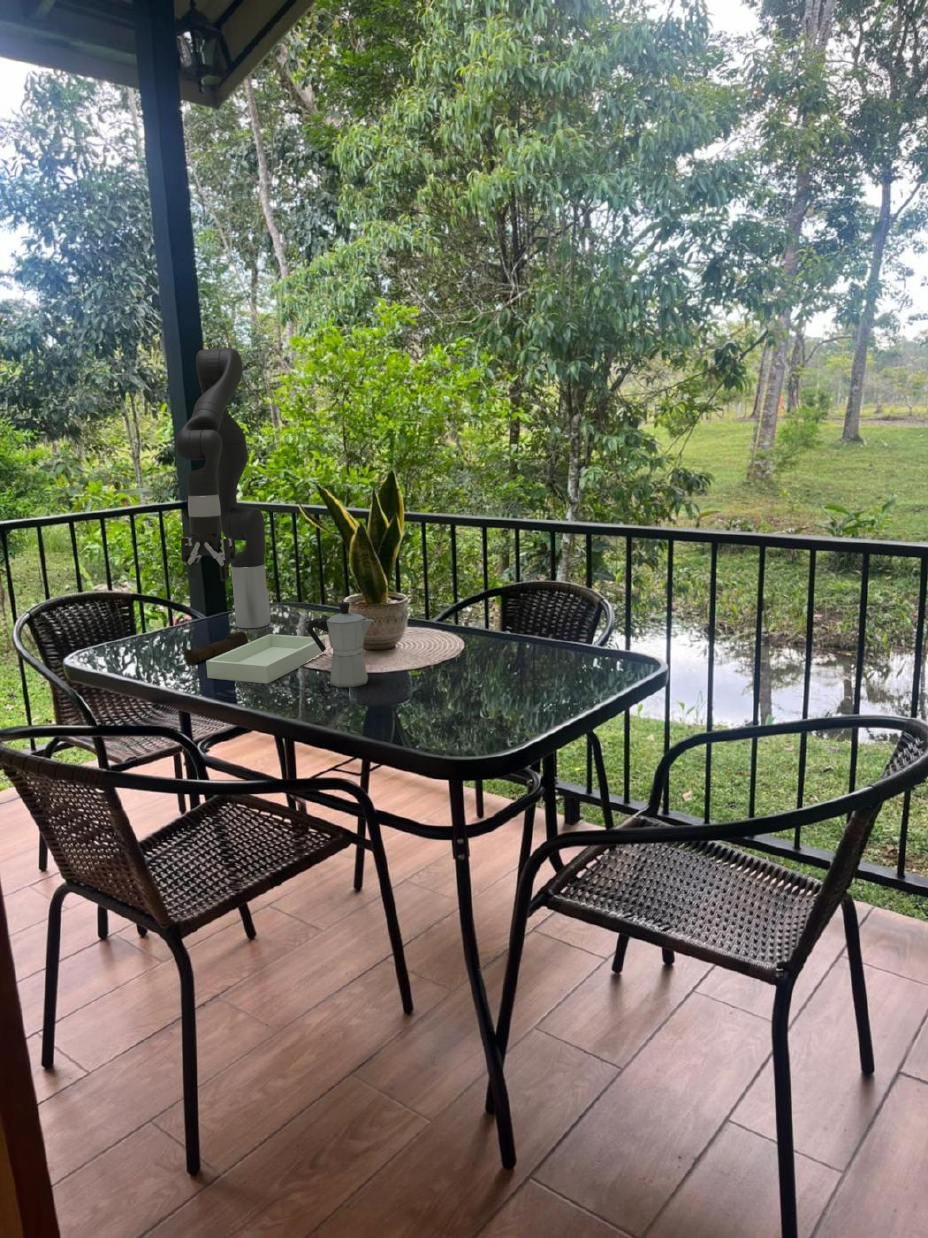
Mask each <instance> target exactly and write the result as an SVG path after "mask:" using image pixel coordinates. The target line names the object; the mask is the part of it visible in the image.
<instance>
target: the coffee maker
mask: <svg viewBox="0 0 928 1238" xmlns="http://www.w3.org/2000/svg"><path fill="white" fill-rule="evenodd" d="M338 605H339V606H338V607H339V609H340V613H338V614H335V615H332V616H330V615H322V616H321V617H320V618H313V619H310V621H309V623H308V625H307V628H306V631H307V632H308V634H309V635H310V637H312V638H313V640H314V641H315V642H316V644H317V645H318V647H319V648H320V650H321V651H322V652H323V651H324V650H325V649H327V647H326V645H325V646H324V644H323V643H322V642H321V640H320V639H319V638H320V637H319V636H318V634H317V633H316V631H315V630H314V629H315V628H316V629H318V630H321V631H324V632H327V635H328V640H329V646H330V648H331V649H333V650H332V656H331V669H330V677H329V678H330V679H329V685H330V686H334V687H337V688H355V687H359V686H363V685H366V684H367V683H368V682H369V681H368V680H369V676H368V672H367V667H366V664H365V658H364V653H363V651H362V648H363V647H364V641H365V637H366V634H367V633H368V630H369V628H370V626H371V624H372V623H373V622H375V620H374V619H370V618H367V617H365V616H364V615H362V614H358V613H352V612H349V610H350V602H349V601H342V602H339V603H338Z"/></svg>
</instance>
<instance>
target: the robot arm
mask: <svg viewBox="0 0 928 1238" xmlns="http://www.w3.org/2000/svg"><path fill="white" fill-rule="evenodd" d="M195 364H196V373H197V378H198V383H199V386H200V389H201V390H200V392H201V394H202V395H200V397H198V399H197V401H196V403H195V405H194V407H193V411H192V415H191V417H190V419H189V420H188V421H187V422H186V423H185V425H183V427H182V428H181V429H180V431H179V432H178V434H177V436H176V440H175V450H176V452H177V455H178V456H179V457H180V458H181V459H183V460H186V461H201V460H202V461H205V463H204V466H203V467H202V468H198V469H195V470H191V471H189V472H188V473H187V475H186V484H187V494H188V495H187V496H188V498H187V499H188V500H187V510H188V519H189V520H188V521H189V532H190V534H191V537H190V536H185V537H181V538H180V546H181V547H180V550H181V553H180V554H181V562H183V563H187V564H188V565H189V573H190V575H189V576H190V578H191V579H192V581H193V580H194V581H196V580H200V578H201V577H200V566H199V565H200V563H199V561H200V559H201V558H202V557H203V556H208V557H212V558H213V559H215V560H216V561H217V563H218V564H219V566H218V567H219V577H220V581H221V582H225V581H228V580H229V578H230V569H231V579H232V580H231V581H232V591H233V592H232V593H233V601H234V602H233V604H234V615H235V624H236V625H235V626H236V628H240V629H256V628H262V627H266V626H268V625H270V622H272V618H271V607H270V595H269V594H270V593H269V589H268V588H267V587H268V585H267V578H266V576H267V575H266V563H265V556H266V531H265V530H266V529H265V528H266V527H265V525H266V524H265V518H264V514H263V512H262V511H261V510H260V508H258V507H253V506H252V507H249V506H248V507H247V506H241V507H240V506H238V500H237V490H238V485H239V482H240V480H241V478H242V476H243V473H244V472H245V469H246V467H247V463H248V457H249V456H248V455H249V454H248V448H247V440H246V435H245V433H244V431H243V429H242V427H241V426H240V424H239V423H238V422H237V421H236V420H235V418H234V417H233V416H232V415H231V414H230V413H229V411H228V409H226V408H227V405H228V404H229V402H230V400H231V399H232V397H233V396H234V393H235V391H236V390H237V388H238V386H239V384H240V383H241V379H242V377H243V362H242V357H241V355H240V353H239V352H238V351H237V350H236V349H235V348H230V347H224V348H222V347H221V348H210V349H200V350H199V351H197V353H196V356H195ZM222 534H223V536H224V538H223V537H222ZM234 541H237V542H238V541H240V542H241V541H242V542H245V547H244V549H243V550H242V551H239V552H237V553H236V552H235V551H236V550H235V545H234ZM192 546H193V547H192ZM222 547H223V548H222ZM192 548H193V549H192Z"/></svg>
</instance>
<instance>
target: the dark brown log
mask: <svg viewBox="0 0 928 1238" xmlns="http://www.w3.org/2000/svg"><path fill="white" fill-rule="evenodd" d="M247 643H249V639H248V637H247V634H246V633H245V632H244V631H236V632H234V633H229V634H228V635H226V638H224V639H221V640H218V641H216V642H212V643H209V644H206V645H205V644H204V645H202V646H198V647H195V648H192V649H185V651H184V657H185V662H186V663H187V665H188V664H189V665H196V664H197V663H202V661H205V660H209V659H212V658H215V657H217V656H219V655H222V654H224V653H226V652H229V651H231V650H233V649H236V648H238V647H240V646H243V645H245V644H247Z"/></svg>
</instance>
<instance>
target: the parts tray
mask: <svg viewBox="0 0 928 1238" xmlns="http://www.w3.org/2000/svg"><path fill="white" fill-rule="evenodd" d="M319 639H320V640H321V642H322V643H323V644H324V646H325V647H326V637H319ZM326 649H327V648H326ZM326 649H325V650H326ZM325 650H324V651H325ZM324 651H323V652H324ZM326 651H327V650H326ZM321 653H322V651H321V650H320V648H319V647H318V645H317V644H316V642H315V641H314V640H313V638H312V637H311V636H301V635H288V634H273V633H270V634H266V635H264V636H262V637H260V638H257V639H254V640H253V641H249V642H248V643H247V644H245V645H243V646H240V647H238V648H236V649H233V650H231V651H229V652H226V653H223V654H221V655H217V656H214V657H211V658H209V659H206V661H205V664H206V673H207V674H206V675H207V679H216V680H226V681H236V682H245V683H247V682H248V683H258V684H270V683H272V682H273V681H276V680H277V679H279V678H281V677H283V676H285V675H287V674H289V673H291V672H293V671H295V670H296V669H298V668H301V667H302V666H301V665H303V664H304V663H306V662H307V661H308V660H310V659H311V658H314V657H316V656H317V655H319V654H321ZM300 666H301V667H300ZM303 666H304V665H303Z"/></svg>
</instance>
